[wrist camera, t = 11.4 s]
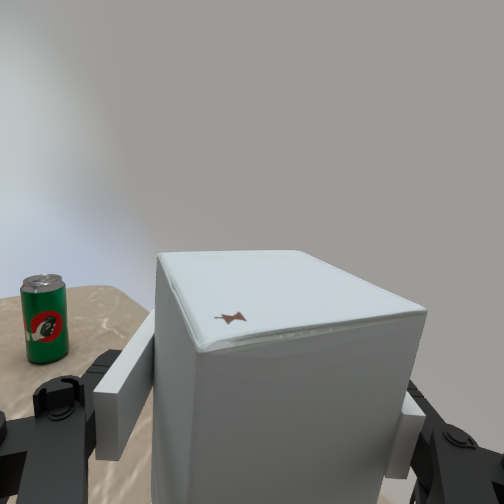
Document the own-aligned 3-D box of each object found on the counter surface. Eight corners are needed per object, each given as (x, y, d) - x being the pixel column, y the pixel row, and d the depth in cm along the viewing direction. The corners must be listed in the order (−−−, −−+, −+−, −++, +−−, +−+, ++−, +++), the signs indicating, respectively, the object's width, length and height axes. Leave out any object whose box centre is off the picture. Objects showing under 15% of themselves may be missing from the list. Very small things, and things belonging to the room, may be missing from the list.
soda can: (77, 349, 44) (73, 277, 41) (46, 369, 39) (39, 288, 36) (51, 342, 45) (45, 270, 42) (18, 360, 40) (9, 281, 37)
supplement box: (358, 598, 11) (443, 310, 8) (166, 727, 8) (187, 347, 5) (273, 440, 18) (302, 247, 15) (148, 480, 15) (153, 246, 12)
